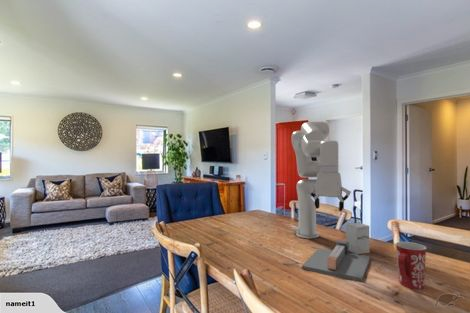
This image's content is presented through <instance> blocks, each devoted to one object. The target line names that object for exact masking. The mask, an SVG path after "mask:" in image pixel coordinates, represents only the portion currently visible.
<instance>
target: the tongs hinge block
mask: <svg viewBox="0 0 470 313" xmlns="http://www.w3.org/2000/svg"><path fill="white" fill-rule="evenodd" d="M336 245H341V246H345V255H348V254H349V253H350V251H349V242H346V240H339V239H338V240H336V241H335V246H336Z"/></svg>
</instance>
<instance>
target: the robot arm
mask: <svg viewBox="0 0 470 313" xmlns="http://www.w3.org/2000/svg"><path fill="white" fill-rule="evenodd" d="M329 133H330V127H329V124H328V123H327V122H326V121H307V122H304V123H303V124H302V125H301V126H300V130H296V131H293V132H292V134H291V136H290V137H291V138H290V139H291V140H290V141H291V145H292V149H293V151H294V152H295V158H296V169H297V174H298V176H299V178H306V179H300V180H299V181H297V183H296V193H297V203H298V206H297V207H298V209H297V210H298V226H295V225H292V227H291V230H292V231H296V232H295V235H296V236H297V237H298V238H301V239H316V238H319V237H320V234H319V232H318V231H317V210H318V209H319V208H320V197H325V198H326V197H327V198H337V199H338V200H339V203H338V211H339V212H342V211H343V210H344V209H345V201H346V200H347V199H348V198H349V197H350V196H351V194H352V191H350V190H349V189H347V188H345V187H344V186H343V184H342V176H341V173H340V172H339V142H338V141H337V140H326V139H327V137H328V136H329V135H330V134H329ZM312 158H319V160H312ZM310 178H311V179H310ZM312 178H313V179H312ZM314 178H316V179H314ZM343 193H345V195H344V196H343ZM312 198H313V199H312Z"/></svg>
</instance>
